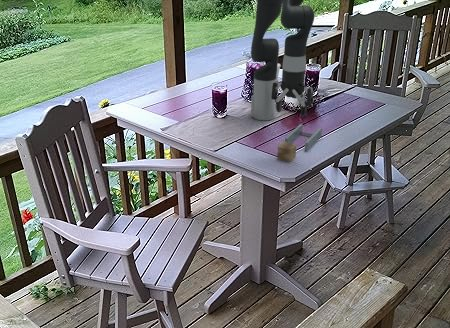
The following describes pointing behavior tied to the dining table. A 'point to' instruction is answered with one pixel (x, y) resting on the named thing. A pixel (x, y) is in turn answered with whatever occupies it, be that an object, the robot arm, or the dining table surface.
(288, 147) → the block
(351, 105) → the dining table surface
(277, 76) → the smoothie
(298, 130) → the channel
